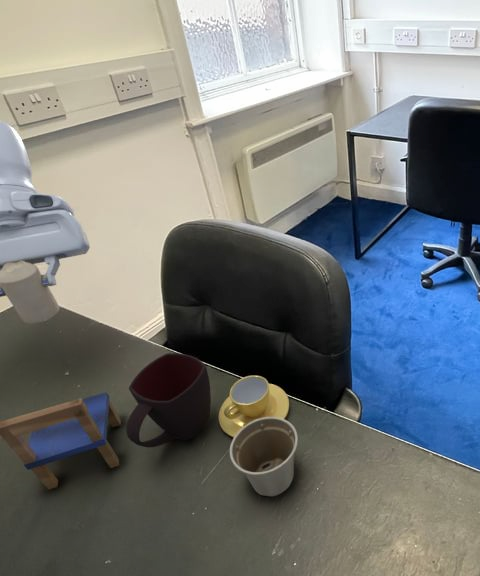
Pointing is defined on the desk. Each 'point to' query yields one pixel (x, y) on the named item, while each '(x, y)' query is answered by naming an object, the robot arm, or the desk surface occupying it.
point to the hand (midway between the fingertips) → (25, 290)
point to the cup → (252, 403)
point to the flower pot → (266, 454)
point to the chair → (62, 434)
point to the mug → (171, 398)
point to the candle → (27, 292)
